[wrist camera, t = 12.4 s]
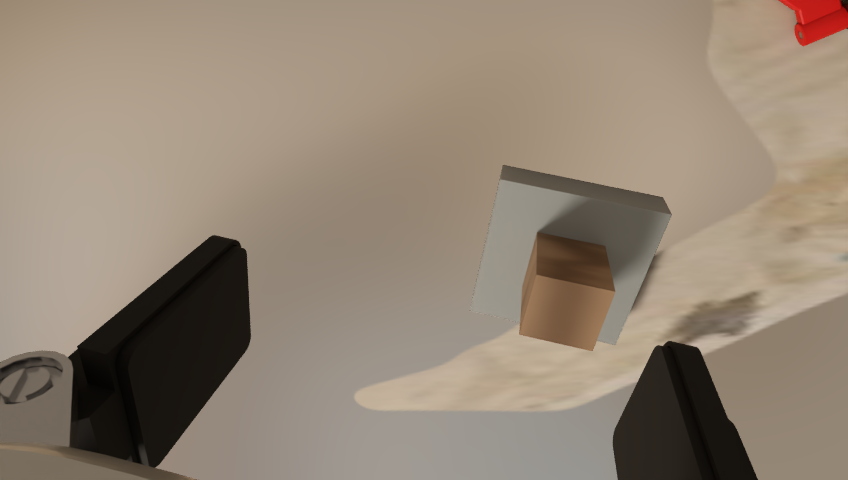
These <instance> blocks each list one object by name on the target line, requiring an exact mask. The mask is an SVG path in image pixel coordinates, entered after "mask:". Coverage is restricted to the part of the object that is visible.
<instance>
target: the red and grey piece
mask: <svg viewBox="0 0 848 480" xmlns="http://www.w3.org/2000/svg"><path fill="white" fill-rule="evenodd" d="M779 1H780V2H782V3H783V4H785V5H786V6H788V7H789V8H790V9H792V10H795V14H796V18H797V22H798V24H796V25H795V35H796V38H797V40H798V42H799V43H800V45H802V46H805V45H808V44H810V43H813V42H815V41H817V40H820V39H822V38H825V37H827V36H829V35H832V34H834V33H837V32H839V31H841V30H844V29H848V0H846V1H844V2H841V0H779Z"/></svg>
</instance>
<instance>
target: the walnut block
mask: <svg viewBox="0 0 848 480" xmlns="http://www.w3.org/2000/svg"><path fill="white" fill-rule="evenodd" d="M614 295H615V287H614V283H613V278H612V274H611V269H610V265H609V260H608V256H607V252H606V247H605V246H603V245H598V244H593V243H589V242H584V241H579V240H574V239H569V238H564V237H559V236H554V235H549V234H544V233H539V232H537V234H536V238H535V241H534V245H533V249H532V252H531V256H530V260H529V263H528V267H527V271H526V275H525V278H524V282H523V286H522V299H521V316H520V332H519V335H524V336H528V337H532V338H537V339H541V340H546V341H550V342H554V343H559V344H563V345H568V346H572V347H576V348H581V349H585V350H589V351H593V349H594V346H595V344H596V341H597V338H598V336H599V333H600V331H601V328H602V326H603V323H604V320H605V318H606V315H607V313H608V310H609V307H610V305H611V302H612V300H613V297H614Z"/></svg>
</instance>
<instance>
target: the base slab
mask: <svg viewBox="0 0 848 480" xmlns="http://www.w3.org/2000/svg"><path fill="white" fill-rule="evenodd" d="M671 215H672V214H671V212H670V210H669V208H668V206H667V204H666V203H665V201H664V199H663V197H658V196H654V195H649V194H644V193H639V192H633V191H629V190H624V189H619V188H614V187H609V186H604V185H599V184H594V183H590V182H584V181H580V180H575V179H570V178H565V177H560V176H555V175H550V174H545V173H540V172H535V171H530V170H525V169H520V168H516V167H510V166H506V165H503V167H502V172H501V176H500V180H499V184H498V189H497V193H496V198H495V202H494V206H493V211H492V215H491V219H490V223H489V228H488V232H487V237H486V241H485V245H484V250H483V254H482V259H481V263H480V267H479V272H478V276H477V280H476V285H475V289H474V293H473V299H472V303H471V308H470V311H473V312H477V313H482V314H485V315H489V316H494V317H498V318H502V319H507V320H511V321H515V322H519V323H520V316H521V299H522V286H523V282H524V278H525V275H526V271H527V267H528V263H529V260H530V256H531V252H532V249H533V245H534V241H535V238H536V234H537V232H539V233H544V234H549V235H554V236H559V237H564V238H569V239H574V240H579V241H584V242H589V243H593V244H598V245H603V246H605V247H606V252H607V256H608V260H609V265H610V269H611V274H612V278H613V283H614V287H615V295H614V297H613V300H612V302H611V305H610V307H609V310H608V313H607V315H606V318H605V320H604V323H603V326H602V328H601V331H600V333H599V336H598V338H597V341H600V342H604V343H608V344H612V345H616V342H617V340H618V338H619V335H620V333H621V331H622V328H623V326H624V324H625V322H626V319H627V317H628V315H629V312H630V310H631V308H632V305H633V303H634V301H635V298H636V296H637V294H638V292H639V289H640V287H641V285H642V282H643V280H644V278H645V275H646V273H647V271H648V268H649V266H650V264H651V262H652V259H653V257H654V255H655V252H656V250H657V248H658V245H659V243H660V241H661V238H662V236H663V233H664V231H665V229H666V227H667V225H668V222H669V220H670V217H671Z"/></svg>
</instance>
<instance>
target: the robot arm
mask: <svg viewBox="0 0 848 480" xmlns="http://www.w3.org/2000/svg"><path fill="white" fill-rule="evenodd" d="M250 332H251V331H250V311H249V291H248V269H247V253H246V250H245V249H244V248H241V245H240V243H239V242H238V241H237V240H233V239H229V238H224V237H220V236H215V235H214V236H211V237H209V238H208V239H207V240H206V241H205V242H203V243H202V244H201V245H200V246H198V247H197V248H196V249H195V250H193V251H192V252H191V253H190V254H189V255H187V256H186V257H185V258H184V259H183V260H182V261H180V262H179V263H178V264H177V265H175V266H174V267H173V268H172V269H170V270H169V271H168V272H167V273H166V274H165V275H163V276H162V277H161V278H160V279H159V280H157V281H156V282H155V283H154V284H152V285H151V286H150V287H149V288H147V289H146V290H145V291H144V292H143V293H141V294H140V295H139V296H138V297H137V298H135V299H134V300H133V301H132V302H130V303H129V304H128V305H127V306H126V307H124V308H123V309H122V310H121V311H120V312H118V313H117V314H116V315H115V316H114V317H112V318H111V319H110V320H109V321H107V322H106V323H105V324H104V325H103V326H101V327H100V328H99V329H98V330H96V331H95V332H94V333H93V334H92V335H90V336H89V337H88V338H87V339H86V340H84V341H83V342H82V343H81V344H80V345H78V346H77V347H78V349H77V350H76V351H75V352H74V353H72V354H71V355H70V356H69V357H68V358H67V357H66V356H65V355H63V354H60V353H58V352H53V351H36V352H28V353H24V354H20V355H17V356H13V357H11V358H9V359H6V360H4V361H2V362H0V480H197V479H193V478H190V477H186V476H183V475H179V474H176V473H172V472H168V471H164V470H161V469H157V468H155V467H156V466H158V465H159V464H160V463H161V462H162V460H163V459H164V457H165V456H166V455H167V454H168V452H169V451H170V450H171V449H172V447H173V446H174V445H175V443H176V442H177V441H178V439H179V438H180V437H181V435H182V434H183V433H184V431H185V430H186V429H187V428H188V426H189V425H190V424H191V422H192V421H193V420H194V418H195V417H196V416H197V414H198V413H199V412H200V411H201V409H202V408H203V407H204V405H205V404H206V402H207V401H208V400H209V399H210V397H211V396H212V395H213V393H214V392H215V391H216V389H217V388H218V387H219V386H220V384H221V383H222V382H223V380H224V379H225V377H226V376H227V375H228V374H229V372H230V371H231V370H232V369H233V367H234V366H235V365H236V363H237V362H238V361H239V359H240V358H241V357H242V355H243V354H244V353H245V351H246V350H247V348H248V346H249V343H250V339H251V333H250ZM613 450H614V456H615V463H616V470H617V477H618V480H758V479H757V477H756V474H755V472H754V470H753V467H752V465H751V462H750V460H749V457H748V455H747V453H746V450H745V448H744V446H743V443H742V441H741V438H740V436H739V434H738V431H737V429H736V428H735V426H734V424H733V423H732V422H731V421H730V420H729V419H728V418H727V415H726V413H725V410H724V408H723V405H722V403H721V400H720V398H719V396H718V393H717V391H716V388H715V386H714V383H713V381H712V378H711V376H710V374H709V371H708V369H707V366H706V364H705V362H704V359H703V356H702V354H701V352H700V350H699V349H698V348H697V347H694V346H689V345H685V344H681V343H676V342H672V341H668V342H666V343H665V344H664V346H659V345H658V346H656V347H655V348H654V350H653V352H652V354H651V356H650V358H649V360H648V362H647V364H646V366H645V368H644V370H643V372H642V374H641V376H640V378H639V381H638V383H637V385H636V387H635V389H634V391H633V393H632V395H631V397H630V399H629V401H628V403H627V405H626V407H625V409H624V411H623V413H622V416H621V418H620V420H619V422H618V424H617V426H616V428H615V431H614V435H613Z"/></svg>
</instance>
